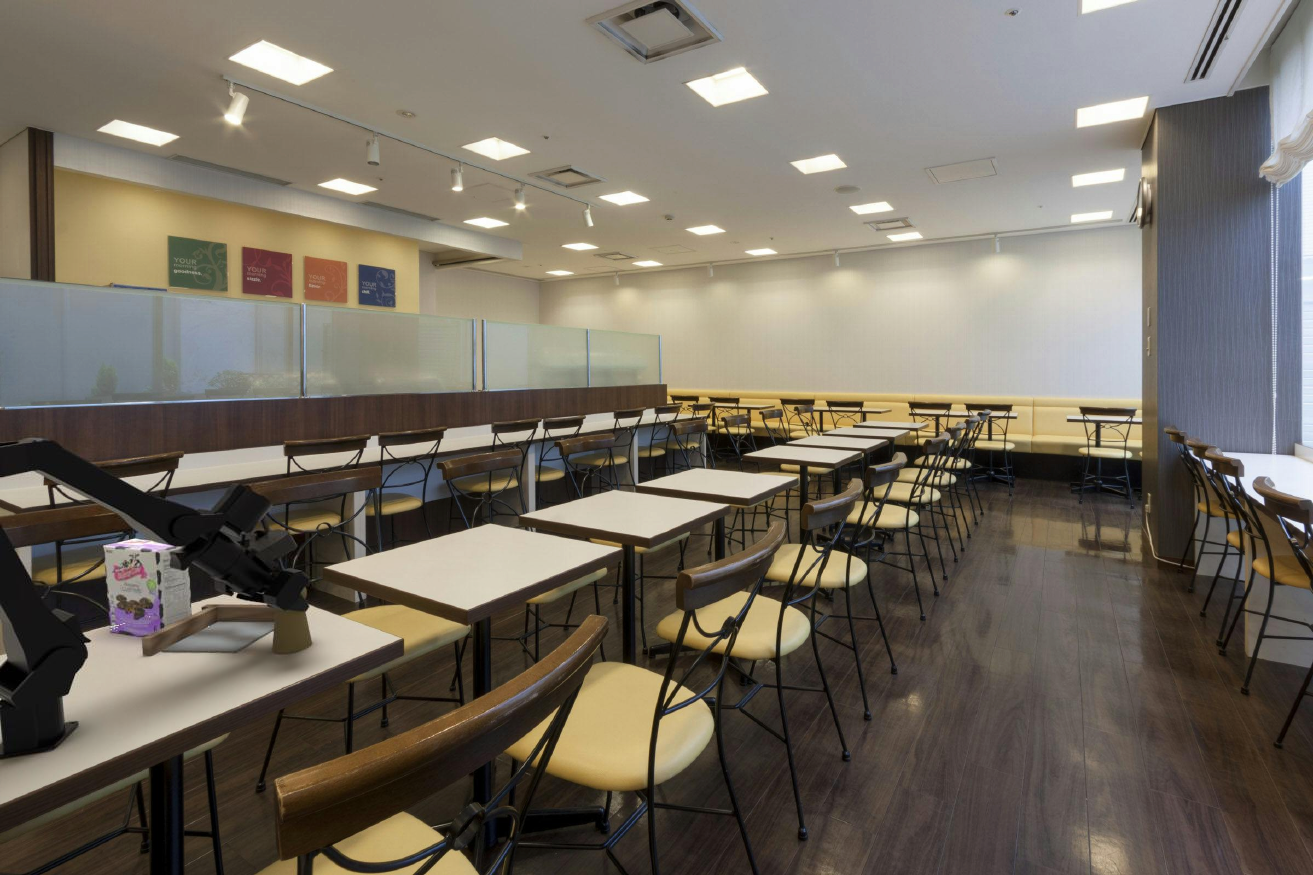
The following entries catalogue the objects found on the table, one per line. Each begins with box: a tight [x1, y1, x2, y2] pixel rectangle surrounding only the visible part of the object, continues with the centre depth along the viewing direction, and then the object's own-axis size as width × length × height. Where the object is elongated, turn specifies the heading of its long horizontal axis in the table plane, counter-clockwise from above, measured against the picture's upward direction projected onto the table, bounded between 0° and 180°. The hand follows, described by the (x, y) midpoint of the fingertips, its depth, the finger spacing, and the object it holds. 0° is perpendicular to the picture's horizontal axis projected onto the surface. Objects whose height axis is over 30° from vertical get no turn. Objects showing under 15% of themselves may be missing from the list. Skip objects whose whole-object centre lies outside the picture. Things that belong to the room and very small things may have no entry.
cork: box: [271, 586, 313, 655], centre depth 109 cm, size 6×6×11 cm
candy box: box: [102, 538, 193, 638], centre depth 117 cm, size 14×6×16 cm, turn 73°
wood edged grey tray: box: [141, 603, 276, 657], centre depth 114 cm, size 16×19×3 cm
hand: (298, 606), depth 110 cm, fingers closed on cork, 5 cm apart
